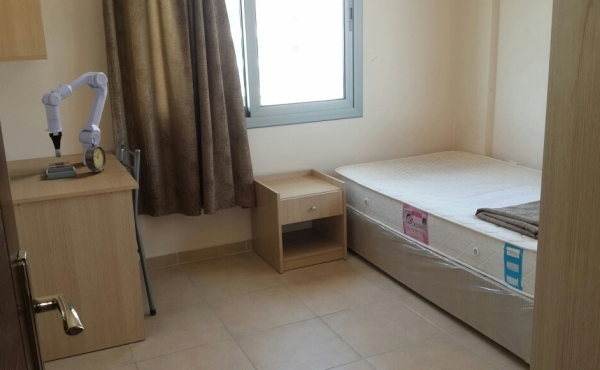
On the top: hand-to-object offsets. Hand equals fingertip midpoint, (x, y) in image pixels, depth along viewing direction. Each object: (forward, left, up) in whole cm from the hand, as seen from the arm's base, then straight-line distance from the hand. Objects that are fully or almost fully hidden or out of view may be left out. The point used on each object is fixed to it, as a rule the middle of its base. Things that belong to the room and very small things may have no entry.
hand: (57, 148), depth 290 cm
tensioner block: (0, 0, -10) cm, 10 cm away
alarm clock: (+13, +15, -11) cm, 23 cm away
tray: (+12, 0, -10) cm, 16 cm away
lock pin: (0, 0, -4) cm, 4 cm away
